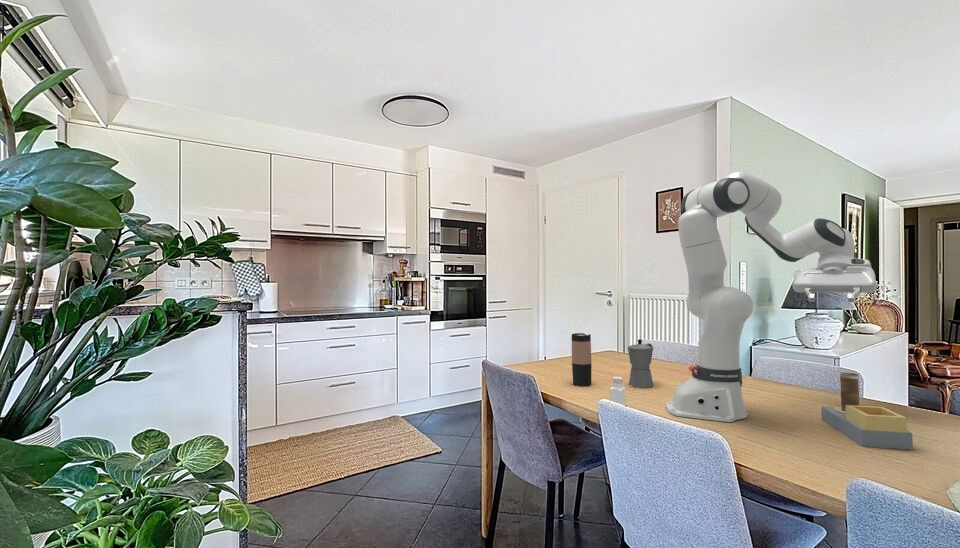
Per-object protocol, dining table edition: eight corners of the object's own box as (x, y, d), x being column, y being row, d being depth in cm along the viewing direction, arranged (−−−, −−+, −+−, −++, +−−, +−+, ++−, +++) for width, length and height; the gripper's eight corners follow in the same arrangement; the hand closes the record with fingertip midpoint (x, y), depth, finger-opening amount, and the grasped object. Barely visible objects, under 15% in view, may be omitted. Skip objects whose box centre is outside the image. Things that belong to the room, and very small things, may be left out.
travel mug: (572, 386, 167) (571, 335, 167) (571, 381, 174) (570, 333, 175) (592, 386, 166) (591, 335, 166) (591, 382, 173) (589, 333, 174)
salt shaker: (614, 404, 142) (613, 375, 143) (626, 406, 140) (625, 377, 140) (609, 407, 139) (609, 377, 139) (621, 409, 137) (621, 379, 137)
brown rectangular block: (841, 410, 117) (839, 374, 117) (842, 407, 120) (841, 372, 120) (858, 413, 115) (857, 376, 115) (859, 410, 117) (858, 374, 117)
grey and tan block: (861, 446, 104) (860, 415, 104) (821, 420, 123) (820, 393, 123) (912, 449, 101) (911, 418, 101) (863, 422, 120) (862, 395, 120)
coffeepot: (642, 390, 159) (641, 342, 159) (620, 385, 166) (619, 339, 167) (664, 383, 168) (662, 338, 169) (642, 379, 176) (641, 336, 176)
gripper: (793, 262, 142) (787, 292, 136) (876, 259, 128) (874, 293, 121) (796, 276, 145) (791, 306, 138) (878, 274, 131) (876, 308, 124)
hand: (830, 300), depth 129 cm, fingers open, 8 cm apart
